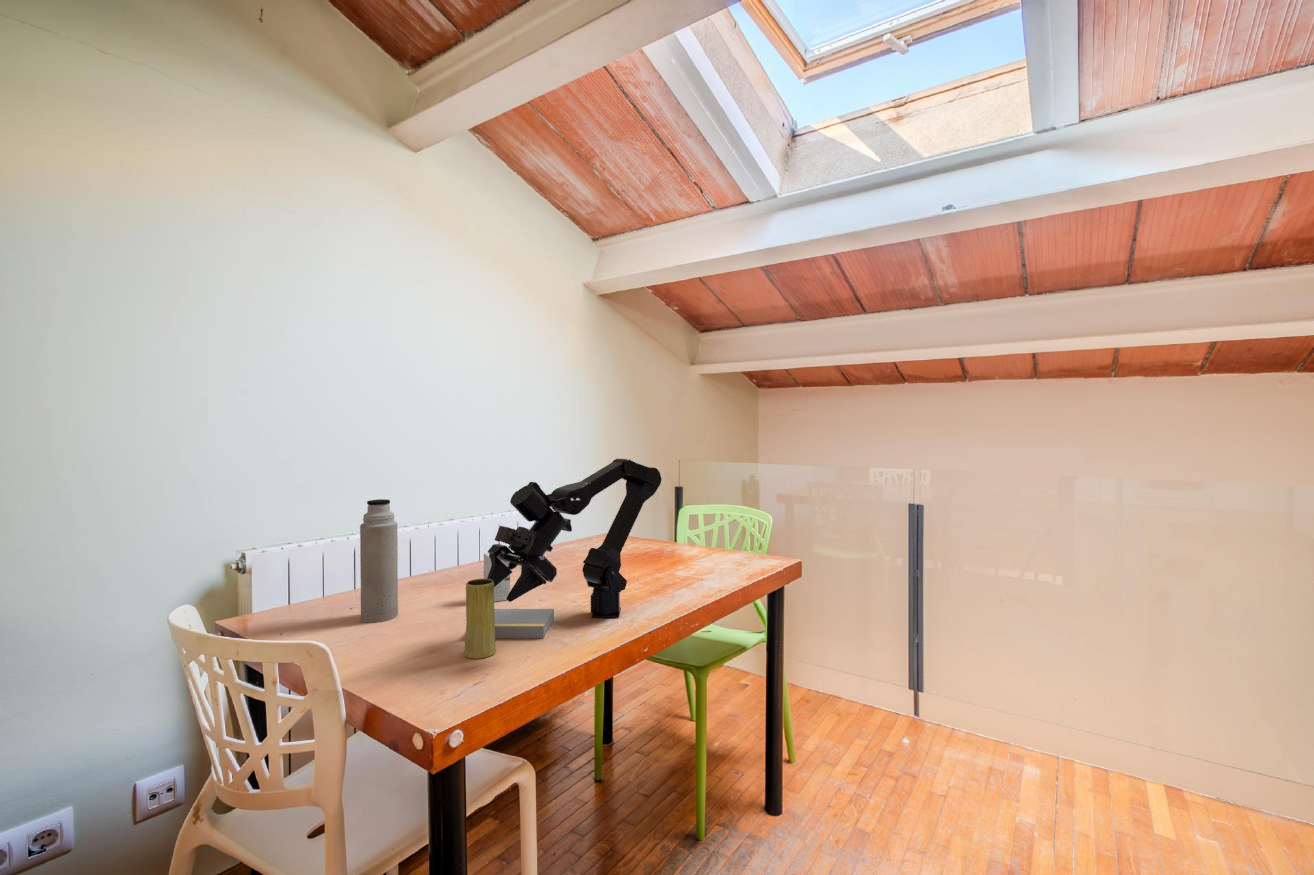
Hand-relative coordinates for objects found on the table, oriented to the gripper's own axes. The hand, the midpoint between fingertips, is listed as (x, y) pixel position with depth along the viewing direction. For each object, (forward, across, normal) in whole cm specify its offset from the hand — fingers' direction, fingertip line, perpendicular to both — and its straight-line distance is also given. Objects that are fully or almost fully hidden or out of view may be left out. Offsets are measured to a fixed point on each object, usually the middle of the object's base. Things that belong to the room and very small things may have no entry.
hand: (496, 596), depth 114 cm
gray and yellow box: (+1, -8, +14) cm, 16 cm away
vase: (+10, 0, +5) cm, 11 cm away
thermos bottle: (+14, -38, +1) cm, 40 cm away
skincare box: (-5, -30, +20) cm, 36 cm away
